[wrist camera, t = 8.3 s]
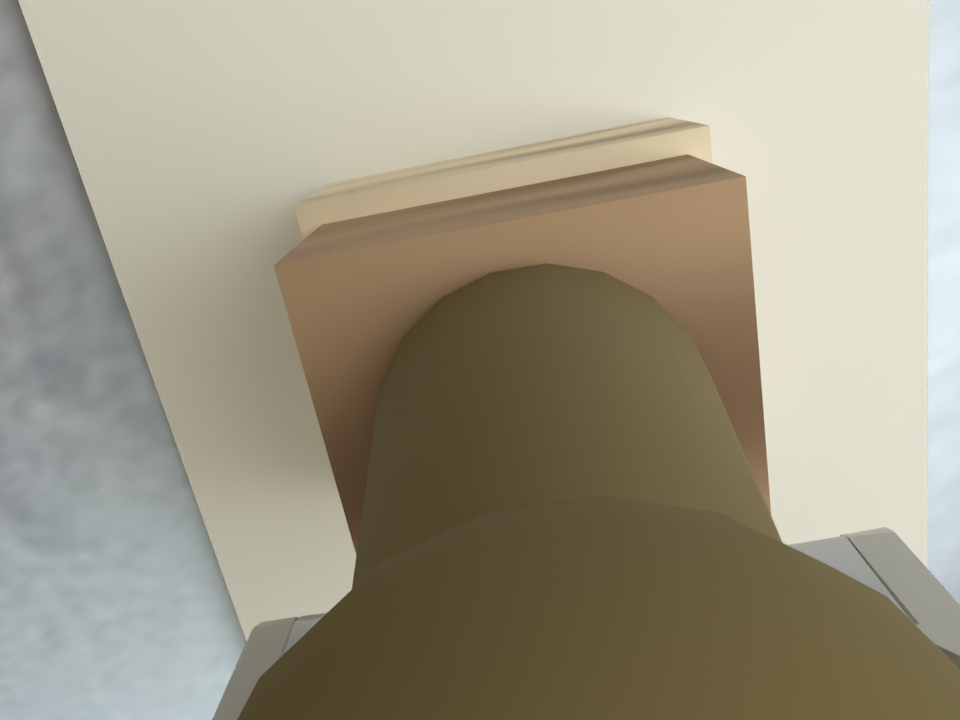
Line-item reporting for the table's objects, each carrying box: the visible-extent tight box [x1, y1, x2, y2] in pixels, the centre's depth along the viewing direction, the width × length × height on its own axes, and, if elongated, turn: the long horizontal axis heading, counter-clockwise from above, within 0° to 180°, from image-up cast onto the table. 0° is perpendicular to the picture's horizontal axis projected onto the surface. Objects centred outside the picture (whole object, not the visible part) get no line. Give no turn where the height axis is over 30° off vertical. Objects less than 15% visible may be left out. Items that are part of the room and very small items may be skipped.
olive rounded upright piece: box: [237, 263, 960, 720], centre depth 8 cm, size 6×6×11 cm
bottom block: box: [294, 117, 713, 240], centre depth 20 cm, size 9×9×4 cm
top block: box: [274, 154, 771, 555], centre depth 16 cm, size 8×8×4 cm
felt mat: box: [18, 0, 929, 642], centre depth 22 cm, size 22×22×1 cm
